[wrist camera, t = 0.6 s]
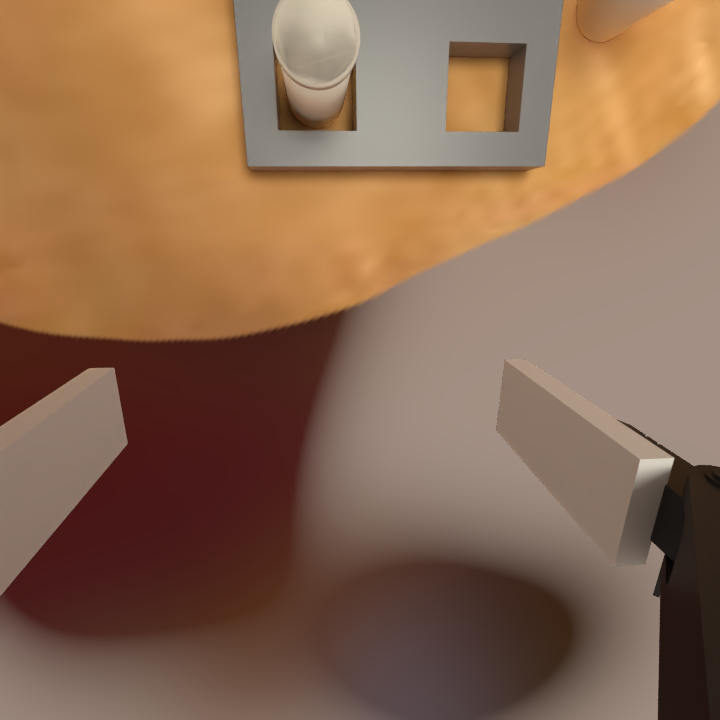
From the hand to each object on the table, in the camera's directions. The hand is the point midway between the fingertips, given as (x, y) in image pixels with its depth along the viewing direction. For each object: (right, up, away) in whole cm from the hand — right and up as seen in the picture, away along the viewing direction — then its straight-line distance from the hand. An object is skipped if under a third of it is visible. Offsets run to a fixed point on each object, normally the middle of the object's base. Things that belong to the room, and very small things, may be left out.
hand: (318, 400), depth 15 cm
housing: (+4, +26, +19) cm, 33 cm away
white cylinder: (-2, +23, +20) cm, 30 cm away
